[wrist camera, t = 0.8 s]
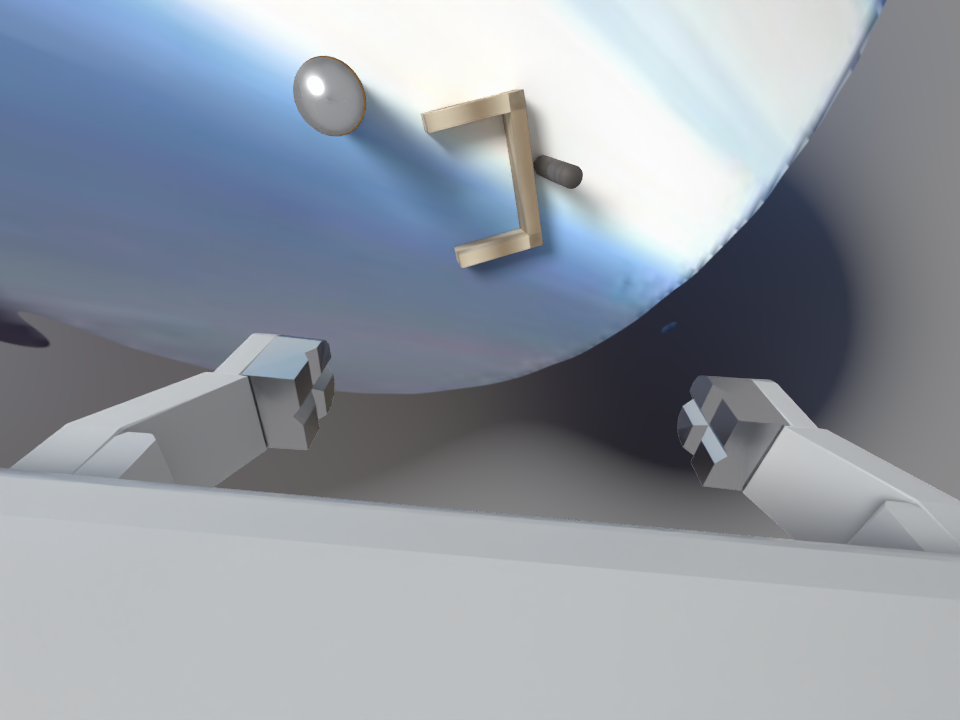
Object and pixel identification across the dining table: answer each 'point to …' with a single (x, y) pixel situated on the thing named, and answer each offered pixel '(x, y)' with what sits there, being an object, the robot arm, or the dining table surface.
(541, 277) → the dining table surface
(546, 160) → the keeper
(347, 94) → the silver metal cylinder
